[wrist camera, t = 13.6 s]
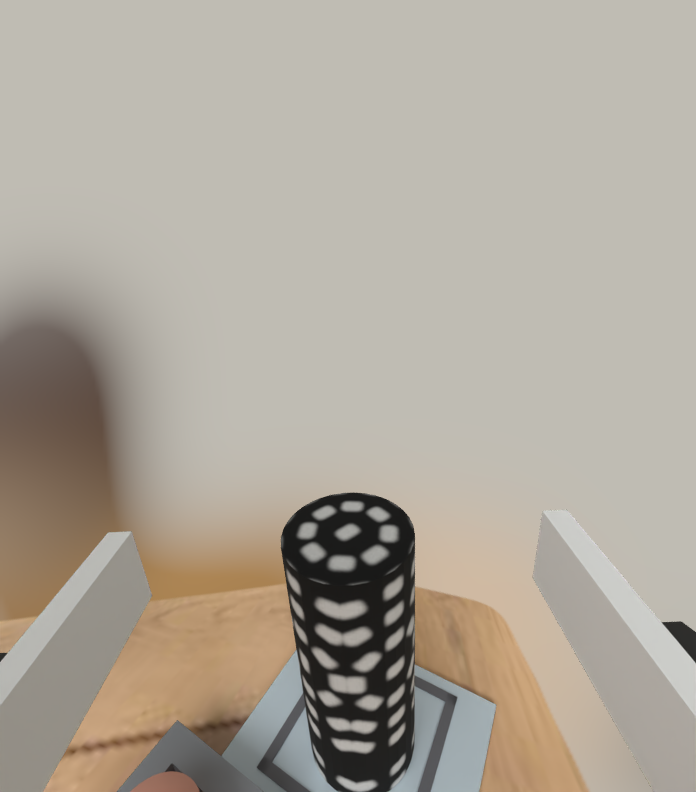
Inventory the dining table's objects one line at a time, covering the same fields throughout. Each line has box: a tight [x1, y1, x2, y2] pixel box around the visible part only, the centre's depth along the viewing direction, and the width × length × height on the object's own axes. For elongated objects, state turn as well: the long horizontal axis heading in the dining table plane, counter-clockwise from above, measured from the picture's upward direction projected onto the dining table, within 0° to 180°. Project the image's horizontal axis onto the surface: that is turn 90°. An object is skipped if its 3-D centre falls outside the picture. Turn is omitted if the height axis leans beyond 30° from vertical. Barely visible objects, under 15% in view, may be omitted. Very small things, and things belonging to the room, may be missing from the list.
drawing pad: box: [221, 650, 496, 792], centre depth 32 cm, size 18×14×1 cm
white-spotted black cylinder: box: [281, 493, 415, 792], centre depth 28 cm, size 8×8×20 cm
